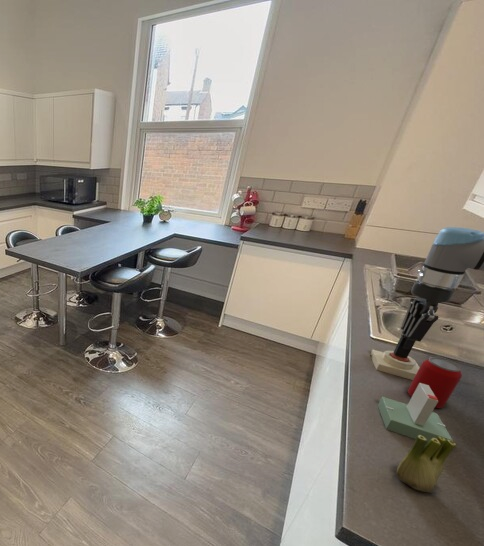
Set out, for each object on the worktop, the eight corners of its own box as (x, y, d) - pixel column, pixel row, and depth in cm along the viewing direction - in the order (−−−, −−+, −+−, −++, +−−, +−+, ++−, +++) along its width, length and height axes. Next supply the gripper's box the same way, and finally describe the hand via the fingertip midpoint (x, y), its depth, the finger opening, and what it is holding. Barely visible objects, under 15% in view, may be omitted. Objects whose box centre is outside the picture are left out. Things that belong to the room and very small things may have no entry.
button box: (412, 366, 96) (417, 355, 95) (422, 382, 89) (428, 371, 88) (369, 355, 101) (374, 344, 100) (376, 369, 94) (381, 359, 93)
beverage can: (445, 403, 82) (467, 366, 77) (440, 414, 78) (462, 375, 74) (409, 387, 87) (428, 352, 83) (403, 397, 83) (422, 360, 79)
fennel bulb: (392, 481, 62) (418, 437, 57) (390, 464, 65) (414, 421, 61) (435, 501, 58) (466, 456, 54) (429, 481, 62) (458, 438, 57)
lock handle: (406, 406, 76) (419, 381, 73) (415, 409, 75) (429, 384, 73) (414, 423, 72) (428, 397, 69) (423, 426, 71) (439, 400, 68)
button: (404, 360, 95) (407, 355, 94) (408, 367, 92) (411, 362, 91) (387, 355, 97) (389, 350, 96) (390, 362, 94) (392, 357, 93)
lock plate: (432, 422, 76) (438, 413, 74) (447, 450, 69) (454, 440, 67) (376, 405, 81) (381, 395, 79) (385, 429, 74) (390, 419, 72)
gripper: (409, 274, 92) (378, 341, 100) (424, 288, 82) (388, 362, 90) (445, 279, 88) (410, 349, 97) (466, 296, 78) (424, 372, 87)
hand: (399, 355), depth 93 cm, fingers closed
